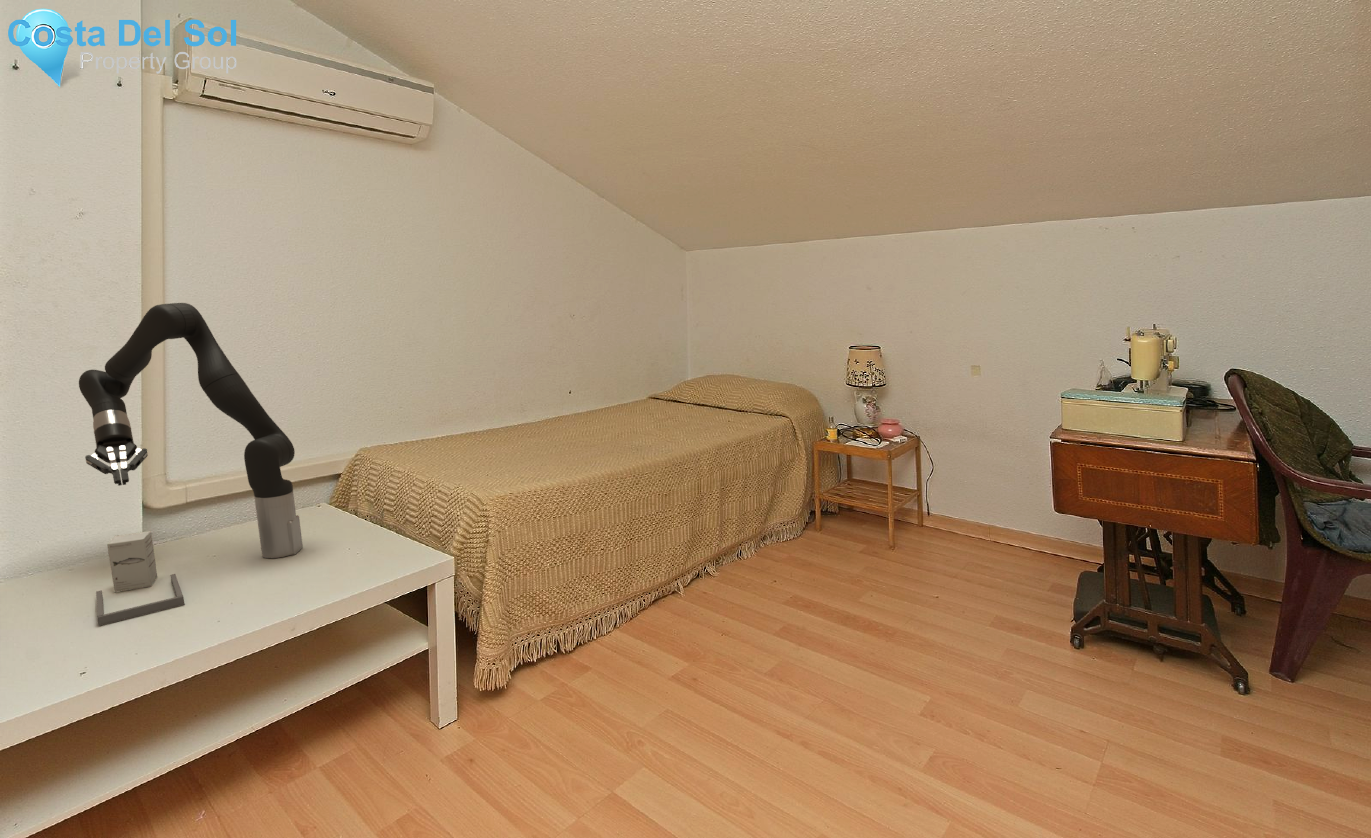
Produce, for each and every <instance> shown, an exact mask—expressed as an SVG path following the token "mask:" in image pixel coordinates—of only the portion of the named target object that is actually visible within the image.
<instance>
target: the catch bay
mask: <svg viewBox="0 0 1371 838" xmlns="http://www.w3.org/2000/svg"><path fill="white" fill-rule="evenodd" d="M170 581H171V585H172V589H173V591H174V594H175V596H174V597H170V598H165V599H163V600H158V601H154V602H150V603H145V604H142V605H141V604H140V605H138V606H133V607H128V608H125V609H121V610H116V611H112V612H109V613H105V610H104V609H105V608H104V607H105V606H104V605H105V604H104V597H103V591H102V590H96V592H95V596H96V597H95V598H96V599H95V601H96V621H97V625H98V627H101V626H105V625H109V624H114V623H117V622H122V621H125V620H129V619H134V618H139V617H141V616H145V614H146V615H150V614H153V613H157V611H158V612H161V611H165V610H170V609H174V608H177V607H181V606H185V598H184V594H183V592H182V589H181V586H180V583H179V580H178V577H177V575H176V573H173V574H170Z"/></svg>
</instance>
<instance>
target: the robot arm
mask: <svg viewBox="0 0 1371 838" xmlns="http://www.w3.org/2000/svg"><path fill="white" fill-rule="evenodd" d="M182 338H183V339H184V340H185V341H186V342H187V344H189V346H190V347H191V349H192V350H193V352H194V354H195V357H196V361H197V379H198V383H199V386H200V387H201V390H203V392H204V393H205V395H206V396H207V398H208V399H209V401H210V402H211V403H212V405H213V406H214V407H216V408H217V409H218V410H219V411H220V412H221V413H223V414H225V415H226V416H228V417H230V419H233V420H234V421H236V422H237V423H239V424H240V425H242V427H243V428H244V429H246V430H247V431H248V433H249V434H250V436H252V438H253V440H251V441H250V442H248V443H247V445H246V446H245V449H244V454H243V455H244V456H243V459H244V465H245V466H244V467H245V470H246V477H247V481H248V485H249V487H250V489H251V490H252V492H253V497H254V505H255V512H256V520H257V521H256V522H257V528H258V536H259V543H260V544H259V545H260V551H261V555H262V557H263V558H265V559H278V558H279V559H280V558H283V557H287V556H293V555H296V554H298V553H299V551H301V549H303V547H304V546H303V536H302V528H301V519H300V515H299V514H298V515H297V512H296V503H295V496H294V487H293V482H292V481H291V480H289V479H284V478H283V475H282V471H281V467H284V466H286V465H288V464H290V463H291V462H292V461H293V460H294V458H295V447H294V445H293V443H292V441H291V439H290V438H289V437H288V435H286V433H285V432H284V431H283V430H282V429H281V428H280V427H279V426H278V425H277V423H276V422H275V421H274V420H273V418H271V417H270V415H269V414H268V413H267V411H266V410H265V409H264V407H263V406H262V404H261V403H260V401H259V400H258V399H257V398H256V396H255V395H254V394H253V392H252V391H251V390H250V388H249V386H248V385H247V383H246V382H245V381H244V379H243V377H242V376H241V375H240V373H239V372H238V371H237V369H236V368H235V367H234V366H233V365H232V363H231V362H230V359H229V358H228V356H227V355H226V354H225V353H224V351H223V349H222V348H221V346H220V345H219V343H218V342H217V340H216V339H215V337H214V335H213V333H212V331H211V330H210V328H209V326H208V324H207V322H206V320H205V319H204V317H203V315H202V314H201V313H200V311H199V310H198V308H196V307H195V306H194V305H192V304H190V303H188V302H174V303H173V302H172V303H161V304H157V305H154V306H152V307H150V308H149V310H147V311H146V313H145V314H144V316H143V317H142V319H141V320H140V322H139V323H138V325H137V327H136V328H135V330H134V331H133V332H132V335H131V336H130V337H129V339H128V340H127V342H126V343H125V344H124V345H123V346H122V347H121V348H120V349H119V350H118V351H117V352H116V353H115V354H113V355H112V356H111V357H110V358H109V359H108V360H107V362H106V363H105V364H104V370H99V369H89V370H85V371H84V372H83V373H82V374H81V375H80V377H79V379H78V388H79V390H80V393H81V395H82V396H83V398H84V399H85V401H86V403H87V404H88V405H89V407H90V409H91V413H92V419H93V422H92V427H93V435H94V440H95V441H94V442H95V446H96V448H95V450H94V453H92V454H91V455H90V454H88V455H85V457H84V458H85V462H86V464H87V465H88V466H90V467H92V468H94V469H95V470H97V471H99V472H101V473H102V474H104V475H108V474H111V475H112V477H113V483H114V484H115V485H117V486H119V487H120V486H126V485H127V483H129V481H130V478H129V472H130V471H135V470H136V469H138V468H139V466H140V465H141V464H142V463H143V462H144V460H146V459H147V457H148V456H149V455H148V454H149V453H148V448H139V447H138V445H136V444H135V443H134V438H133V437H134V436H133V433H132V426H131V422H130V419H129V417H128V412H127V408H126V407H127V406H126V403H125V402H124V400H123V399H122V398H124V397H125V396H127V395H128V393H129V391H130V388H131V386H132V384H133V381H134V379H135V378H136V377H137V376H138V375H139V374H140V373H142V371H143V370H144V369H145V368H146V367H147V366H148V365H149V364H150V363H151V359H152V357H153V356H152V353H153V349H154V348H156V347H157V346H158V345H160V344H162V342H164V341H167V340H175V339H182ZM134 455H135V456H134ZM133 456H134V457H133ZM132 457H133V458H132ZM131 458H132V459H131ZM100 460H101V461H100ZM102 461H104V462H105V463H104V462H102ZM128 461H129V462H128ZM106 463H107V464H109V465H107V464H106ZM118 463H120V469H119V468H118V467H119V466H118Z"/></svg>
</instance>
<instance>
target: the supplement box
mask: <svg viewBox="0 0 1371 838" xmlns="http://www.w3.org/2000/svg"><path fill="white" fill-rule="evenodd" d="M152 535H153V534H152V531H151V530H149V531H148V530H147V531H140V532H131V533H123V534H119V535H118V534H117V535H113V537H112V538H111V539H110V540H109V541H108V543H107V552H108V558H109V564H110V570H111V576H112V583H113V584H112V585H113V588H114V589H113V590H114V593H119V592H124V591H129V590H136V589H142V588H150V587H152V586H153V584H154V583H155V581H156V580H157V578H158V572H157V564H156V556H155V549H154V545H153V544H154V543H153V536H152ZM155 579H156V580H155Z"/></svg>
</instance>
